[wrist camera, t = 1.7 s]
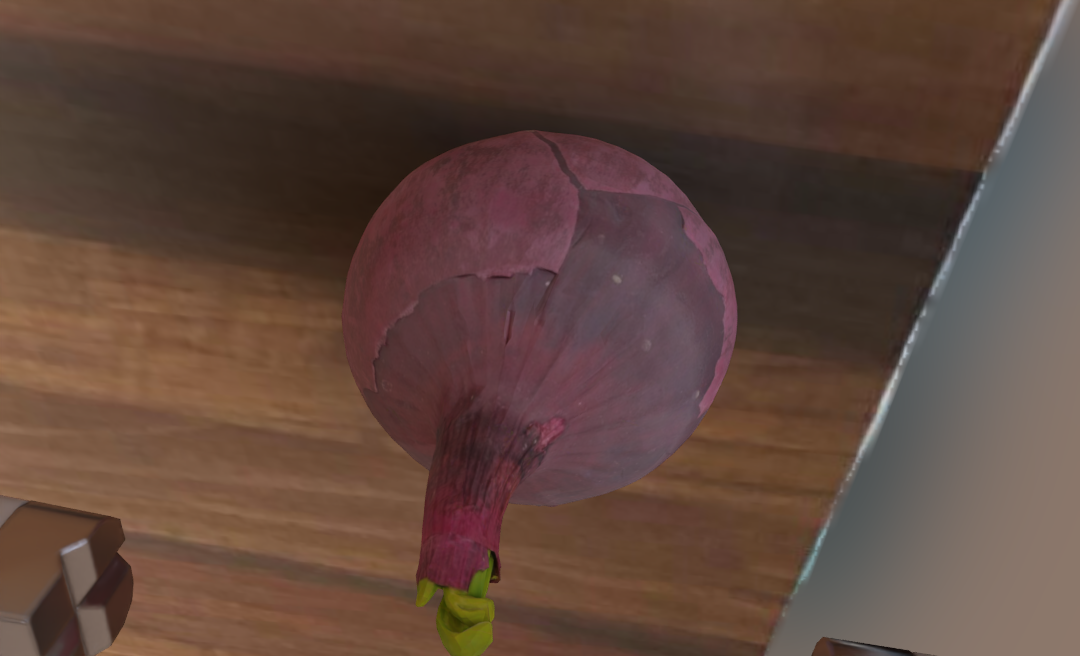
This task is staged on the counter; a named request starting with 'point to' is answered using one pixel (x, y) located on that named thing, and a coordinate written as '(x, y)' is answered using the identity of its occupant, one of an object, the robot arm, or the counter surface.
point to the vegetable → (531, 339)
